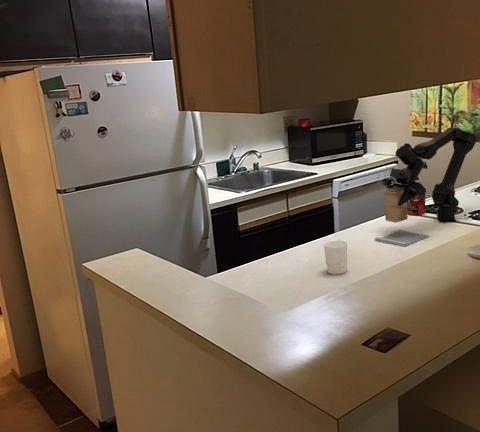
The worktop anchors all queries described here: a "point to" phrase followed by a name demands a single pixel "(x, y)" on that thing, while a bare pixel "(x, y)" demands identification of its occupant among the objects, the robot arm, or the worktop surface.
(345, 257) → the white cup
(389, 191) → the wooden tall block
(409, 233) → the grey flat slab
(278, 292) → the worktop surface
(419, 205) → the canned food
